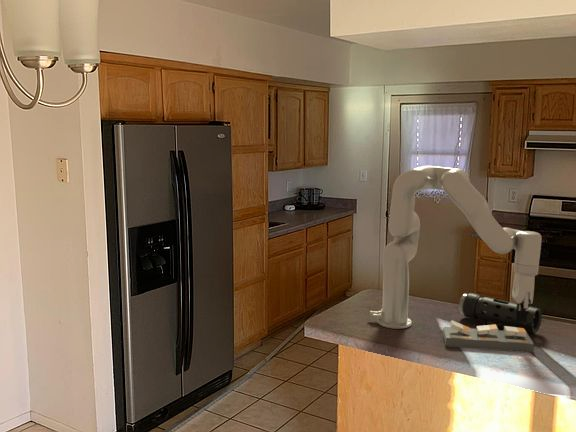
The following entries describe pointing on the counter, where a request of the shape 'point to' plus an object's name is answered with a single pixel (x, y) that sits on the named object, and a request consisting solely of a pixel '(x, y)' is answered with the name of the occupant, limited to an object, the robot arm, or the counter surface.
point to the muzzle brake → (498, 312)
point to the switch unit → (487, 340)
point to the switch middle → (487, 329)
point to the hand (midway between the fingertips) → (520, 320)
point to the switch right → (515, 331)
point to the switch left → (460, 327)
